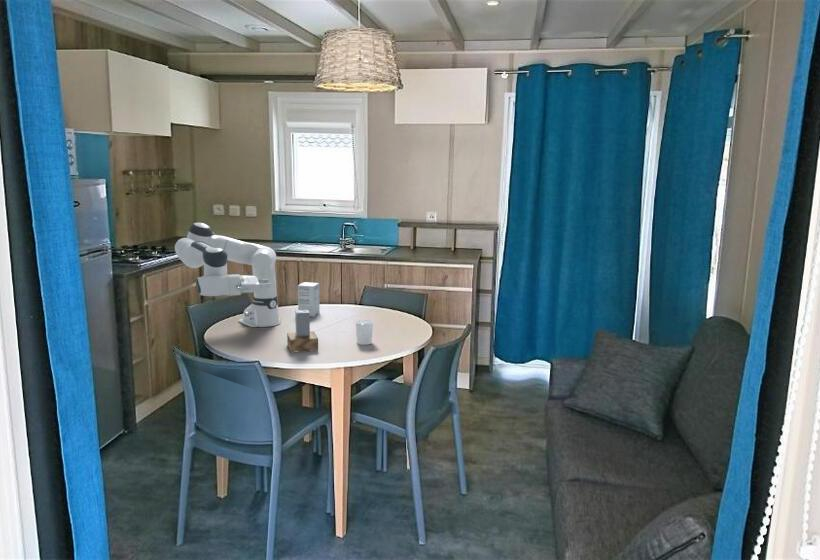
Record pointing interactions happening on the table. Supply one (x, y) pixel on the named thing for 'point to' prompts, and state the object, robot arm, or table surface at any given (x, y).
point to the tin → (302, 323)
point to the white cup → (364, 332)
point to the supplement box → (309, 298)
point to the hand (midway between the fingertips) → (269, 283)
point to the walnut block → (302, 342)
